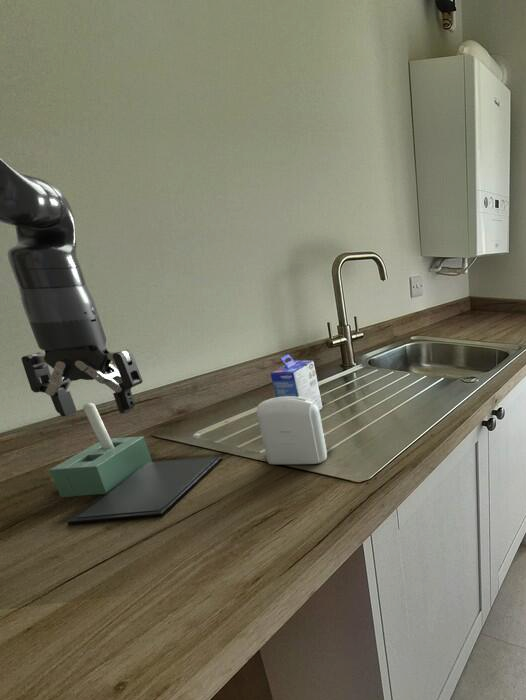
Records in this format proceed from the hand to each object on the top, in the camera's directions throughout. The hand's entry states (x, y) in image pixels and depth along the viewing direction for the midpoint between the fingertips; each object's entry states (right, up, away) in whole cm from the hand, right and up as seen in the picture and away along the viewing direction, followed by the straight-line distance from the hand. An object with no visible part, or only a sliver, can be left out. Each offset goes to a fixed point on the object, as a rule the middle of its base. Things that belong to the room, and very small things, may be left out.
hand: (98, 413), depth 68 cm
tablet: (+11, -12, -2) cm, 17 cm away
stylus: (0, -10, +3) cm, 11 cm away
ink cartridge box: (+21, -3, +26) cm, 34 cm away
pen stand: (0, -11, +1) cm, 11 cm away
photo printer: (+30, -9, +7) cm, 32 cm away
